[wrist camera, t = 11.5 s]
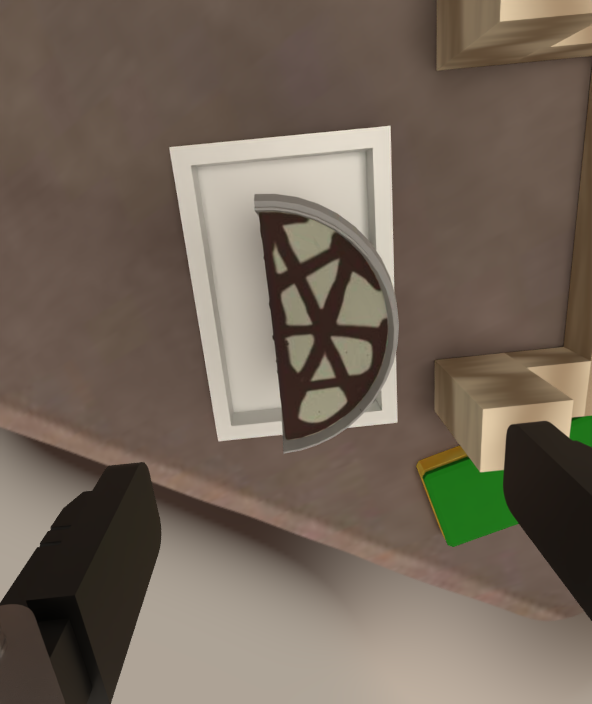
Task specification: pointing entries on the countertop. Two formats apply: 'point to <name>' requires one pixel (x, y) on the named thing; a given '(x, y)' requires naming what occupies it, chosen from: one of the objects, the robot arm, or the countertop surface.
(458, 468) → the dish sponge
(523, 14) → the holder
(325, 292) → the food container
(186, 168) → the tray
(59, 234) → the countertop surface
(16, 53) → the countertop surface
